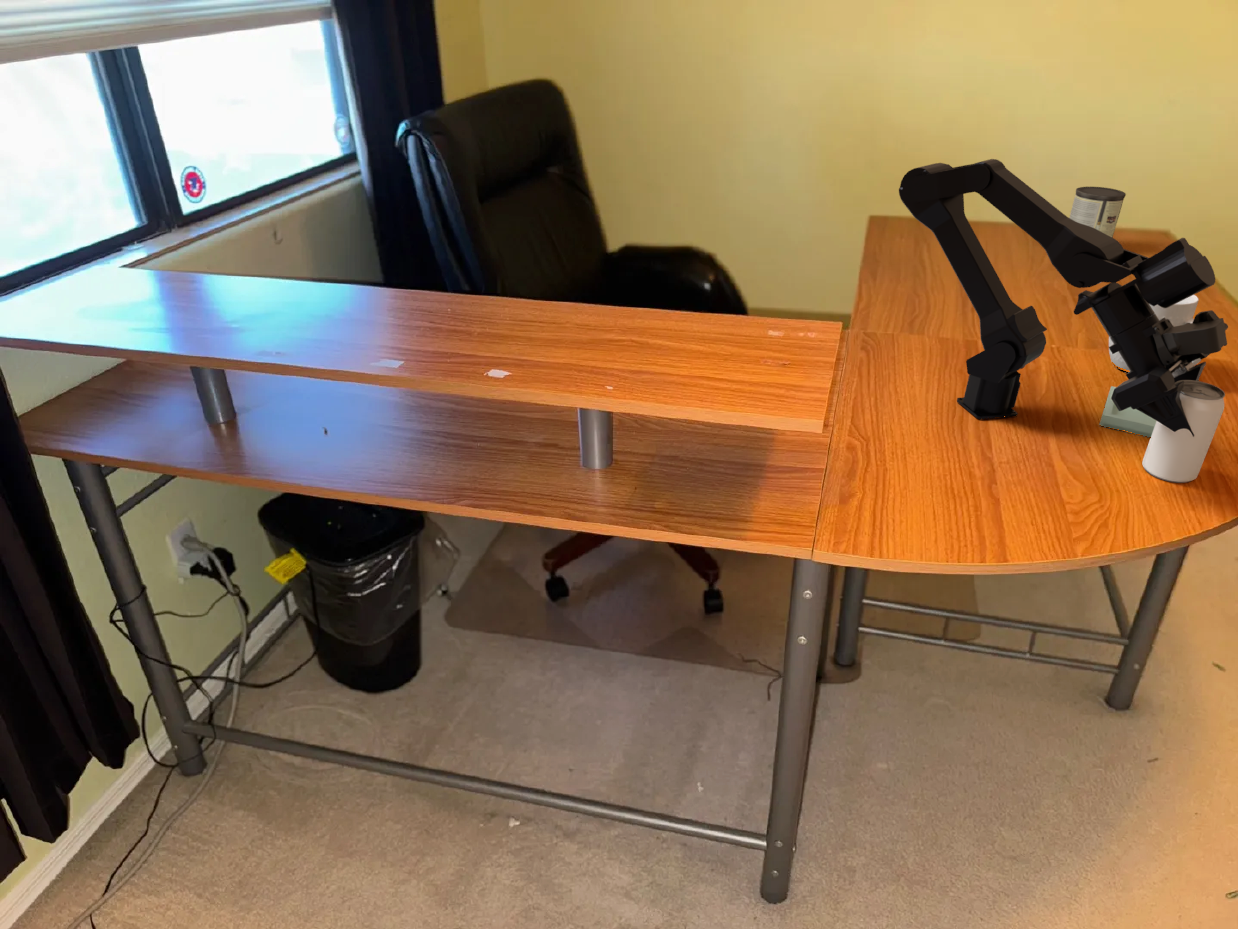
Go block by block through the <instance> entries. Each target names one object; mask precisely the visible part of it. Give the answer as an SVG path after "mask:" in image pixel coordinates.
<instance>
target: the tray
mask: <svg viewBox="0 0 1238 929" xmlns="http://www.w3.org/2000/svg"><path fill="white" fill-rule="evenodd" d="M1116 387H1117V386H1112V385H1111V386H1110V389H1109V391H1108V395H1107V399H1106V402H1105V404H1104V407H1105V408H1103V411H1102V414H1101V417H1100V421H1099V425H1101V426H1104V427H1103V428H1106V427H1110V428H1114V429H1119V430H1125V431H1128V432H1132V433H1135V434H1134V435H1136V434H1140V435H1143V436H1142V437H1145V436H1147V437H1146V438H1149V437H1151V435H1152V433H1153V430H1154V427H1155V424H1156V420H1155V419H1153V418H1151V417H1149V416H1148V415H1146V414H1144V413H1142V412H1140V411H1139V410H1137V409H1132V408H1131V407H1129V408H1127V409H1124V410H1122V411H1119V410H1118V409H1117V407H1116V405H1115V404H1114V402H1113V401H1112V399H1111V398H1112V395H1113V391H1114V389H1115V388H1116ZM1099 425H1098V426H1099ZM1101 426H1100V427H1101ZM1110 428H1109V429H1110ZM1114 429H1113V430H1114ZM1119 430H1118V431H1119ZM1132 433H1131V434H1132ZM1140 435H1139V436H1140Z"/></svg>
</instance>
